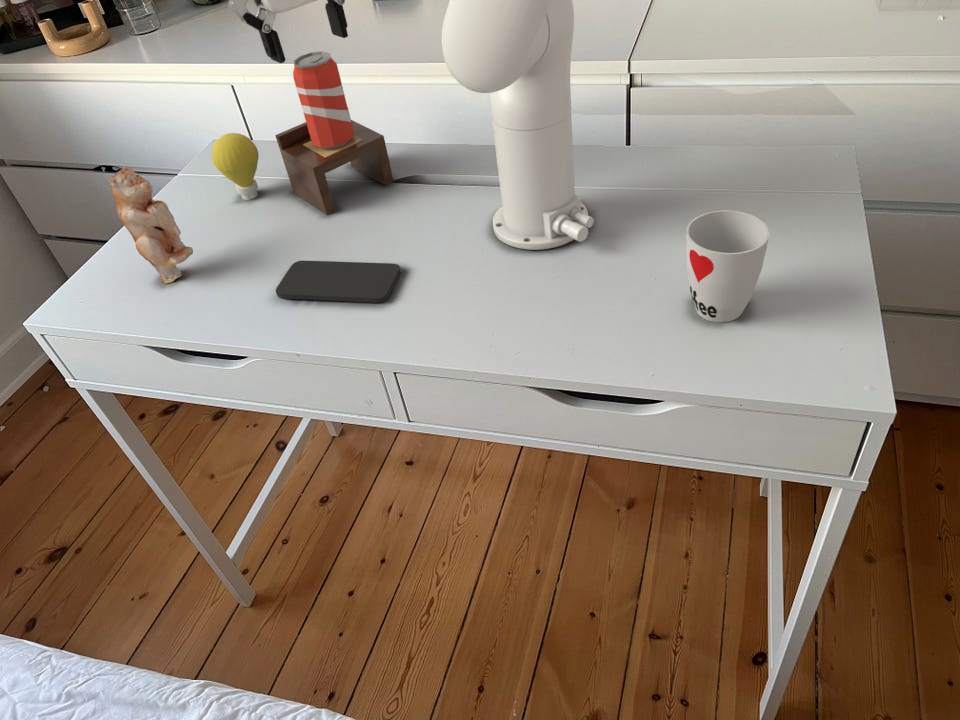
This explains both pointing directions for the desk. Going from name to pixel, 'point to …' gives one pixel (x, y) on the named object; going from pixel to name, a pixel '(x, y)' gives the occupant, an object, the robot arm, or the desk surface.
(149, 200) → the figurine
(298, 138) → the miniature wooden desk
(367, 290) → the phone
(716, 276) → the cup
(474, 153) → the desk surface
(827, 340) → the desk surface
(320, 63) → the beverage can
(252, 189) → the light bulb
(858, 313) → the desk surface
